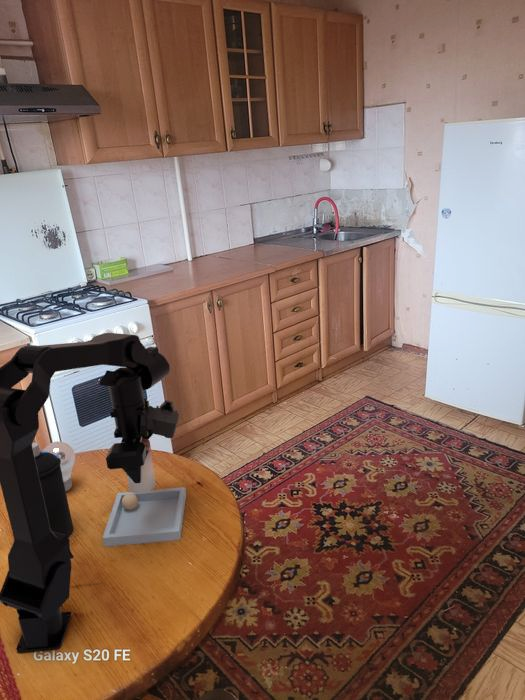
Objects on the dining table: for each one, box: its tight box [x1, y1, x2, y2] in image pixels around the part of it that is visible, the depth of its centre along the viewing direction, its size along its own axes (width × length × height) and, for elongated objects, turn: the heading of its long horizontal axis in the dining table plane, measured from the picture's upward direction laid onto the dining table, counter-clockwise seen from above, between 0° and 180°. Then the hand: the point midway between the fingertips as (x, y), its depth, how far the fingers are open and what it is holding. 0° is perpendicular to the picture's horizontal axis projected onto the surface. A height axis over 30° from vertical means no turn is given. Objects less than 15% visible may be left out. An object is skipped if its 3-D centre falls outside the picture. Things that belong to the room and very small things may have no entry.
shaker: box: [126, 438, 156, 494], centre depth 101 cm, size 5×5×9 cm
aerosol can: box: [32, 442, 74, 539], centre depth 100 cm, size 8×8×20 cm
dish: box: [102, 486, 187, 548], centre depth 105 cm, size 14×14×2 cm
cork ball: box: [122, 493, 138, 510], centre depth 109 cm, size 3×3×3 cm
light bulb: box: [42, 441, 76, 493], centre depth 115 cm, size 7×7×12 cm
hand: (140, 474), depth 102 cm, fingers closed on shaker, 5 cm apart
